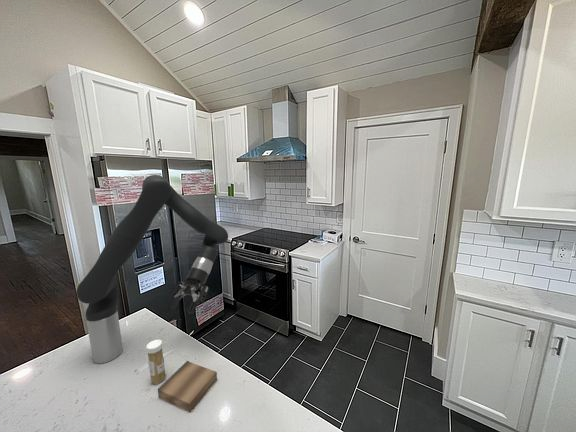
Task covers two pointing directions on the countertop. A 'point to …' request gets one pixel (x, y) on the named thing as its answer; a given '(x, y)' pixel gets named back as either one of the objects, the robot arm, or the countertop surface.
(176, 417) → the countertop surface
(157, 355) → the sprinkles bottle
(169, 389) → the walnut dock
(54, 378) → the countertop surface
